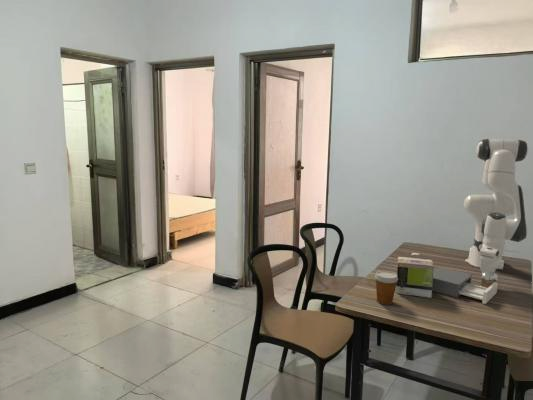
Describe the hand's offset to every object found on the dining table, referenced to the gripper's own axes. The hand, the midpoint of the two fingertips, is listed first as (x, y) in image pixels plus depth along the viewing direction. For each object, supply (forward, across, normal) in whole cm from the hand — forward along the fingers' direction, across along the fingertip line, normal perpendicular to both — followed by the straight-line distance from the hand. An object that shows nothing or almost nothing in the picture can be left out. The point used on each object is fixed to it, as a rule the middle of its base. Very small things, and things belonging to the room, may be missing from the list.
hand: (489, 277), depth 186 cm
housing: (+5, +13, -14) cm, 20 cm away
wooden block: (+5, 0, 0) cm, 5 cm away
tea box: (+6, +30, -23) cm, 38 cm away
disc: (0, 0, 0) cm, 0 cm away
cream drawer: (+5, +13, -3) cm, 14 cm away
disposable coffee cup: (+6, +49, -27) cm, 56 cm away
